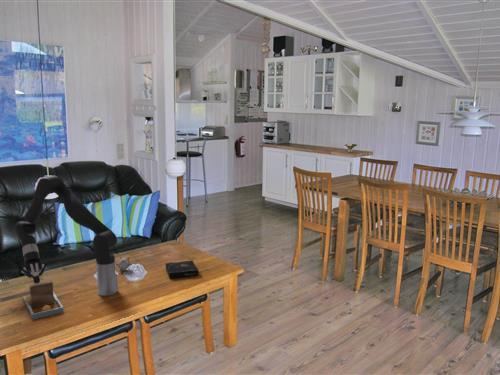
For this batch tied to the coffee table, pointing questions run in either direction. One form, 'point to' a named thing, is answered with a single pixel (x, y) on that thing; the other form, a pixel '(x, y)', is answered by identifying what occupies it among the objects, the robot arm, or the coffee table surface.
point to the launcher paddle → (41, 294)
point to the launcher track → (29, 305)
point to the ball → (46, 308)
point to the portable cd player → (181, 269)
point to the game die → (124, 263)
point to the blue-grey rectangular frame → (46, 313)
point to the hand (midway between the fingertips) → (37, 283)
